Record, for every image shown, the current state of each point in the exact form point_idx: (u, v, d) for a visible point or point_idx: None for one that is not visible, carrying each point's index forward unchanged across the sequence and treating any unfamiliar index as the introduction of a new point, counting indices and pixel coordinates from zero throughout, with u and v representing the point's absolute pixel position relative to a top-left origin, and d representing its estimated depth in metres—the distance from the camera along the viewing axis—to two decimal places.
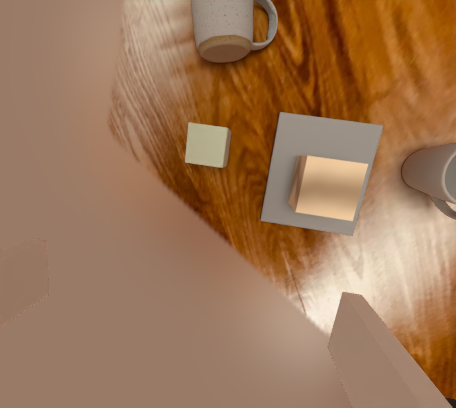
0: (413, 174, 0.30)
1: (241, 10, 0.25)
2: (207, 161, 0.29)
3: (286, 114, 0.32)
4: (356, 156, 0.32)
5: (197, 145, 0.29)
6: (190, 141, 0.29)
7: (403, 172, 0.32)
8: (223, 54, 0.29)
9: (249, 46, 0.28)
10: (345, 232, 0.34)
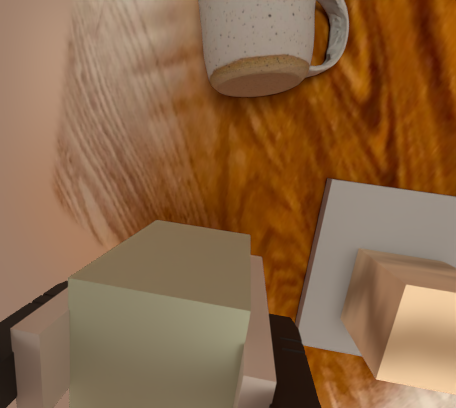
0: None
1: (301, 5, 0.12)
2: None
3: (342, 183, 0.19)
4: None
5: (113, 366, 0.07)
6: (83, 351, 0.07)
7: None
8: (254, 87, 0.16)
9: (306, 74, 0.15)
10: None
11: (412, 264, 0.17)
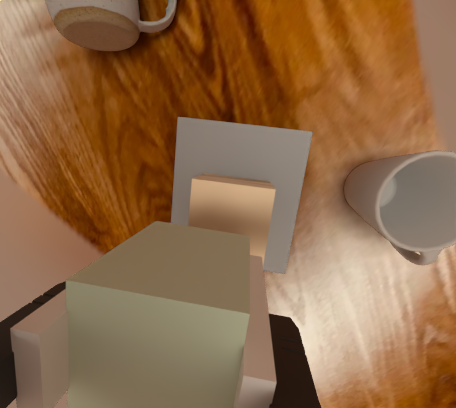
0: (352, 197, 0.22)
1: None
2: None
3: (186, 119, 0.24)
4: (280, 172, 0.24)
5: (112, 369, 0.07)
6: (81, 354, 0.07)
7: (345, 192, 0.24)
8: (100, 39, 0.21)
9: (128, 25, 0.20)
10: (275, 270, 0.26)
11: (231, 178, 0.23)
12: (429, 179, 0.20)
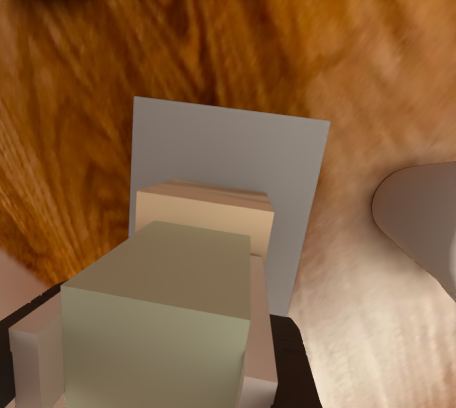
0: (389, 221, 0.15)
1: None
2: None
3: (145, 100, 0.16)
4: (282, 180, 0.17)
5: (109, 375, 0.06)
6: (78, 360, 0.06)
7: (374, 210, 0.17)
8: None
9: None
10: (273, 314, 0.19)
11: (209, 188, 0.15)
12: None
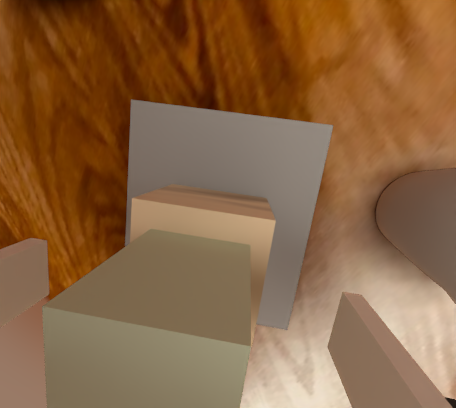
0: (395, 228, 0.14)
1: None
2: None
3: (143, 104, 0.16)
4: (283, 185, 0.16)
5: (96, 403, 0.06)
6: (62, 387, 0.06)
7: (378, 216, 0.16)
8: None
9: None
10: (274, 324, 0.18)
11: (208, 194, 0.15)
12: None
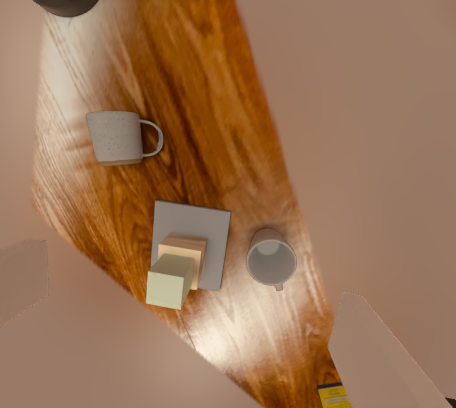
0: None
1: (122, 143, 0.35)
2: (166, 303, 0.32)
3: (160, 202, 0.41)
4: (214, 233, 0.42)
5: (156, 290, 0.31)
6: (150, 286, 0.31)
7: None
8: None
9: (136, 161, 0.37)
10: (213, 289, 0.44)
11: (184, 238, 0.40)
12: (284, 245, 0.37)
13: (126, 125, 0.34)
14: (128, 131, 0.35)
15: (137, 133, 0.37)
